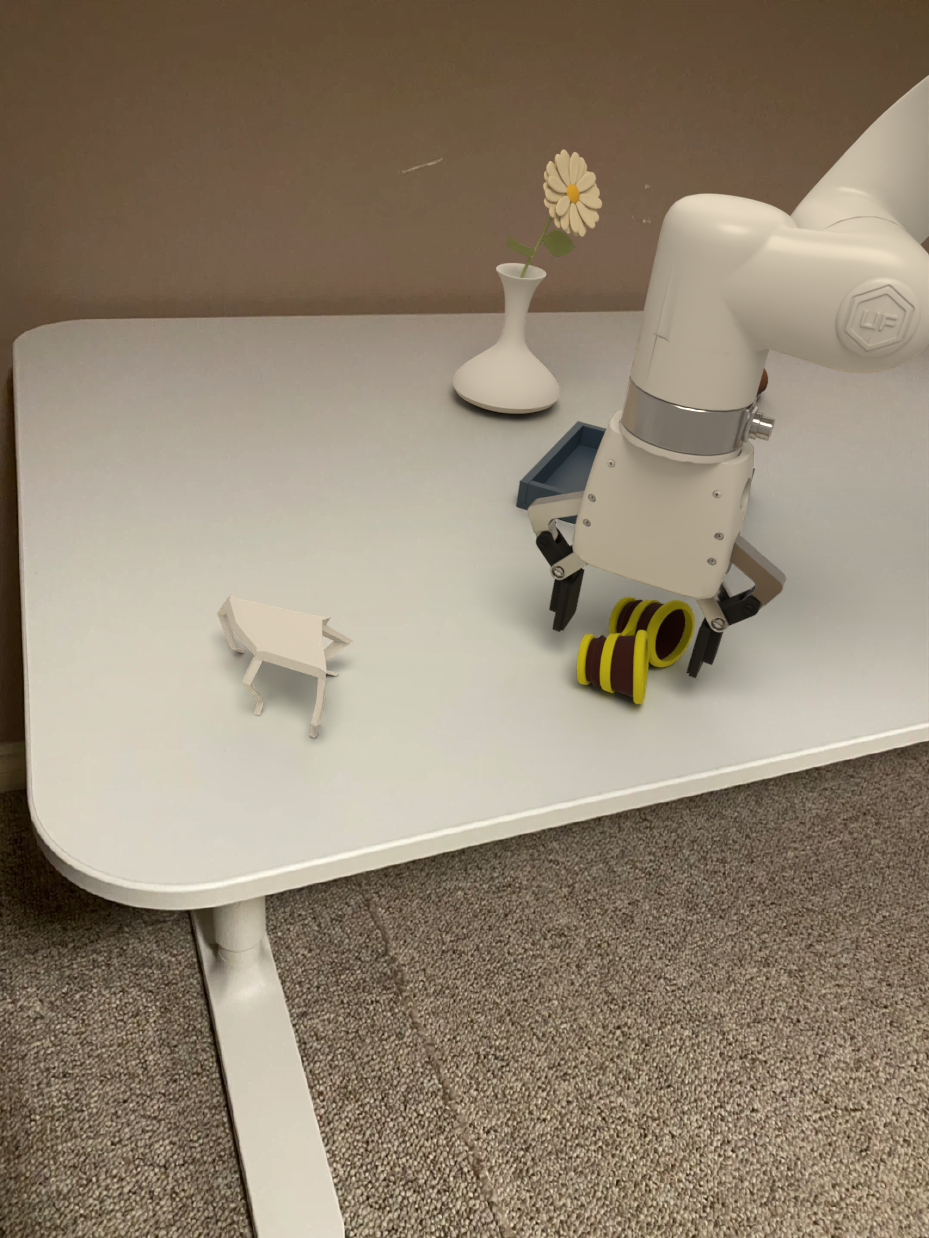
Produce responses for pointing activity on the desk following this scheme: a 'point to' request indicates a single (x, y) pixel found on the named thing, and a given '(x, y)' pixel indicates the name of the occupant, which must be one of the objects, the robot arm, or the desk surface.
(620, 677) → the opera glasses
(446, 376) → the desk surface
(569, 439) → the tray
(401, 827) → the desk surface
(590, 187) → the flower in vase
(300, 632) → the origami figure
